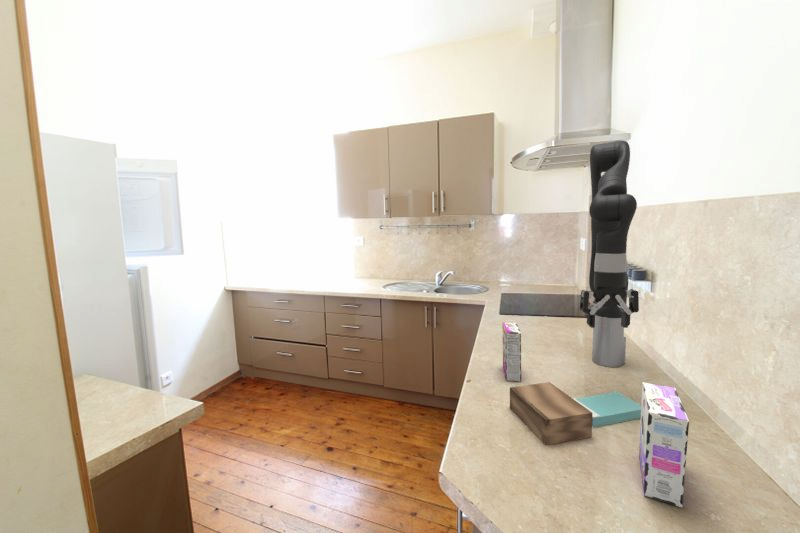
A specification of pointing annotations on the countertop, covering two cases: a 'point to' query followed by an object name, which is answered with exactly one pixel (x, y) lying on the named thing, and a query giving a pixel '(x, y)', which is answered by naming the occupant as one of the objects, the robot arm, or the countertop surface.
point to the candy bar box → (511, 351)
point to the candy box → (663, 443)
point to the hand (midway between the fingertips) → (607, 327)
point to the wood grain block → (550, 413)
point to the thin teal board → (610, 408)
